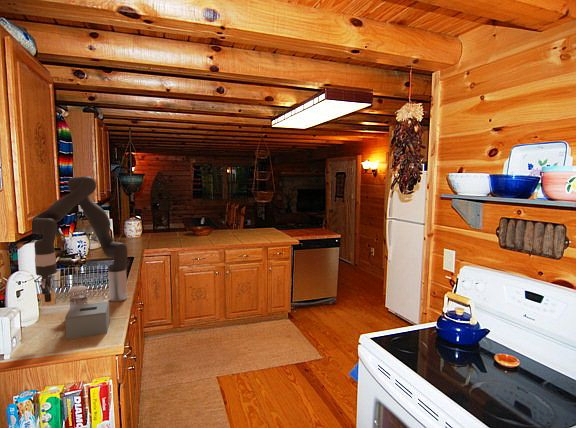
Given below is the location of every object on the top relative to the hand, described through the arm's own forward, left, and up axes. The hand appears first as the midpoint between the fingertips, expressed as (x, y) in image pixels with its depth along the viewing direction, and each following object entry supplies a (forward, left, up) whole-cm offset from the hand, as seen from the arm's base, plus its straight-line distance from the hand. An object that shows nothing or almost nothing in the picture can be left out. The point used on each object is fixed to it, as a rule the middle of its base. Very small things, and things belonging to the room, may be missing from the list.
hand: (48, 300), depth 154 cm
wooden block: (0, 0, -2) cm, 2 cm away
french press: (-20, +8, -17) cm, 27 cm away
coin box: (-1, +15, -16) cm, 22 cm away
